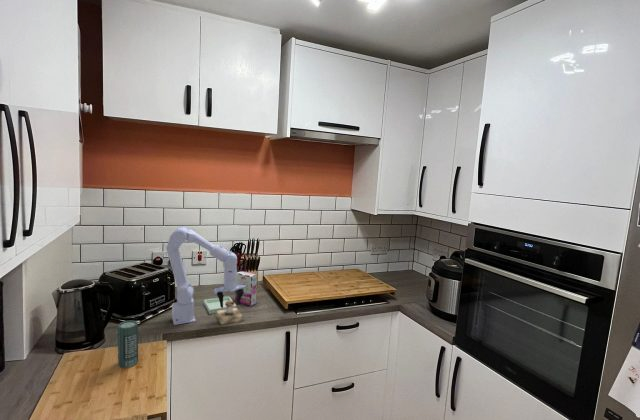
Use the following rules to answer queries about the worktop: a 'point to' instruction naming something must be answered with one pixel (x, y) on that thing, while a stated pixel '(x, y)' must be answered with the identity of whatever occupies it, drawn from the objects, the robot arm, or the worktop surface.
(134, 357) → the can
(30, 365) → the worktop surface
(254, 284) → the candy bar box
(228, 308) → the metal pin
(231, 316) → the pin holder block
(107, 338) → the worktop surface
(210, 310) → the tray
